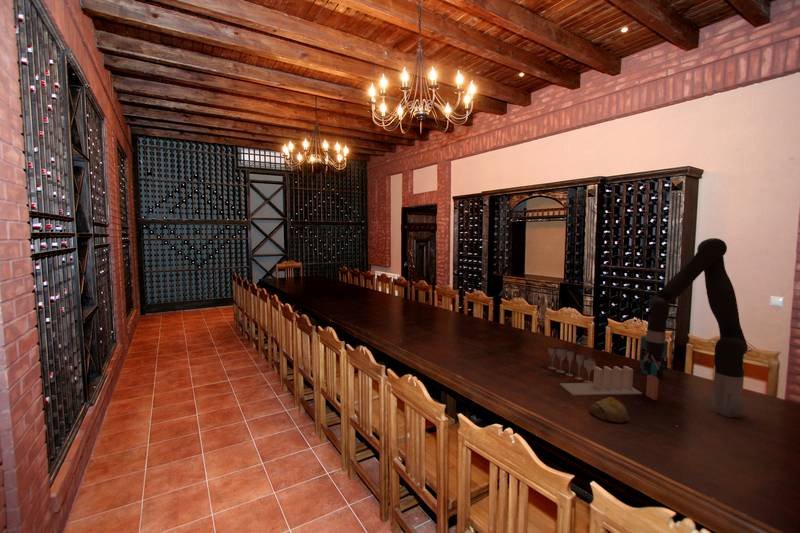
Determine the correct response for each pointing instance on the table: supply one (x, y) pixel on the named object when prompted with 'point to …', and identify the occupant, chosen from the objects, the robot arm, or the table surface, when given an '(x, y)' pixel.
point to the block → (652, 366)
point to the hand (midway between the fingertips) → (652, 373)
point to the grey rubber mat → (595, 390)
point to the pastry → (610, 410)
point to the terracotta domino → (652, 387)
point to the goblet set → (561, 354)
